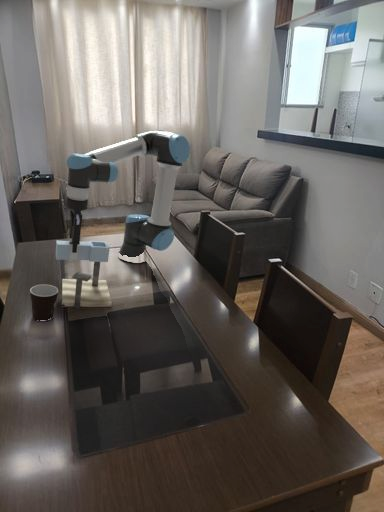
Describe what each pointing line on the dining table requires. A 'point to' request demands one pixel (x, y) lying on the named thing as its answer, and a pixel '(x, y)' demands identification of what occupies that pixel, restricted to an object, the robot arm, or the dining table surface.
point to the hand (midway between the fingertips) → (72, 257)
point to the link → (84, 251)
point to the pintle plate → (86, 290)
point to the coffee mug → (43, 301)
